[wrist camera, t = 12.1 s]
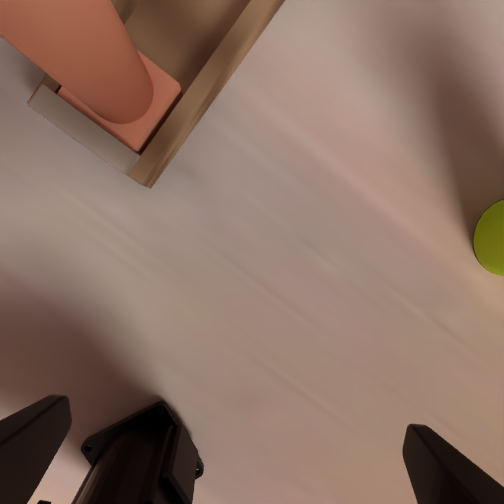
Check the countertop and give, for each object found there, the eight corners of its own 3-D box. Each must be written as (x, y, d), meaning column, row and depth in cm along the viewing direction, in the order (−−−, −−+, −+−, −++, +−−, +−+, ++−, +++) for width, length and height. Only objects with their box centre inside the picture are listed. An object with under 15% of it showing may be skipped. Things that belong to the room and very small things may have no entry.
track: (150, 188, 19) (133, 181, 15) (54, 119, 18) (12, 94, 14) (301, -23, 18) (319, -81, 14) (211, -108, 17) (207, -192, 13)
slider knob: (141, 156, 17) (-16, 41, 6) (74, 107, 17) (-244, -128, 5) (184, 97, 17) (103, -138, 6) (118, 44, 16) (-117, -335, 5)
